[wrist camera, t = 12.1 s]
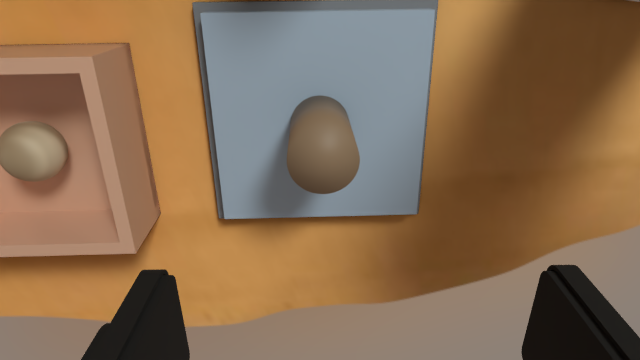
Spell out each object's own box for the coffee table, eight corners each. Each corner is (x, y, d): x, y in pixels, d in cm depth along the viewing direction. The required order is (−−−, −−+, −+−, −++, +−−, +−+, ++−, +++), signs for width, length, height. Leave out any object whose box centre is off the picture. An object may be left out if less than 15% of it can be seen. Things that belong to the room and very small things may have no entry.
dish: (129, 42, 26) (92, 56, 22) (160, 213, 31) (135, 253, 27) (-69, 46, 26) (-149, 60, 21) (-6, 217, 31) (-60, 258, 26)
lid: (430, 8, 25) (472, 18, 19) (413, 207, 31) (441, 267, 24) (204, 12, 25) (169, 23, 19) (226, 211, 31) (206, 273, 24)
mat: (435, -2, 26) (438, -1, 25) (416, 209, 32) (418, 213, 31) (194, 2, 25) (192, 2, 25) (220, 214, 31) (219, 218, 31)
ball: (71, 113, 27) (39, 131, 24) (85, 166, 29) (56, 191, 25) (12, 114, 27) (-29, 133, 24) (29, 168, 29) (-7, 192, 25)
